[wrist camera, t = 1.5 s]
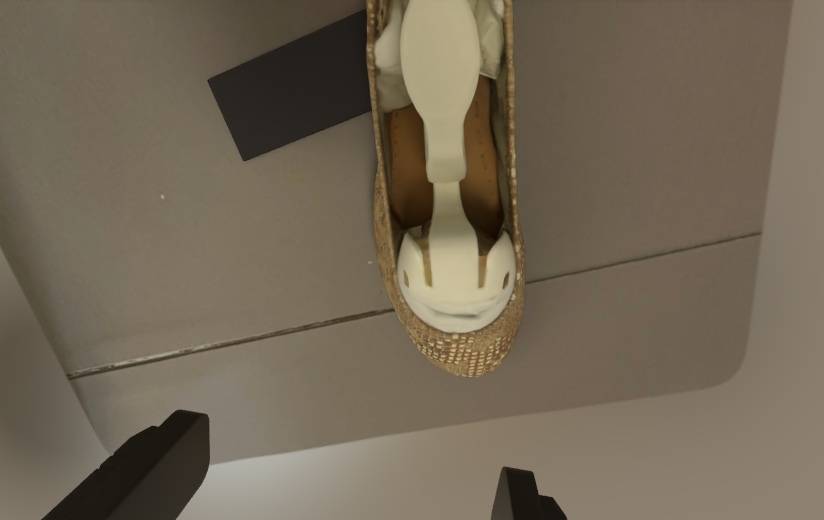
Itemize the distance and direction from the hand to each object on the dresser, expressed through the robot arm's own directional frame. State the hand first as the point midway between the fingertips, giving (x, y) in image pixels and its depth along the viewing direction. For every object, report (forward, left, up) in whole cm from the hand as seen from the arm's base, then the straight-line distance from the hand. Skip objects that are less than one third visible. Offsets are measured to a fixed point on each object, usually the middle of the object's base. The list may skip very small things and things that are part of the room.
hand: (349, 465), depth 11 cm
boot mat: (+2, -14, -22) cm, 26 cm away
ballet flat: (-4, -5, -22) cm, 23 cm away
